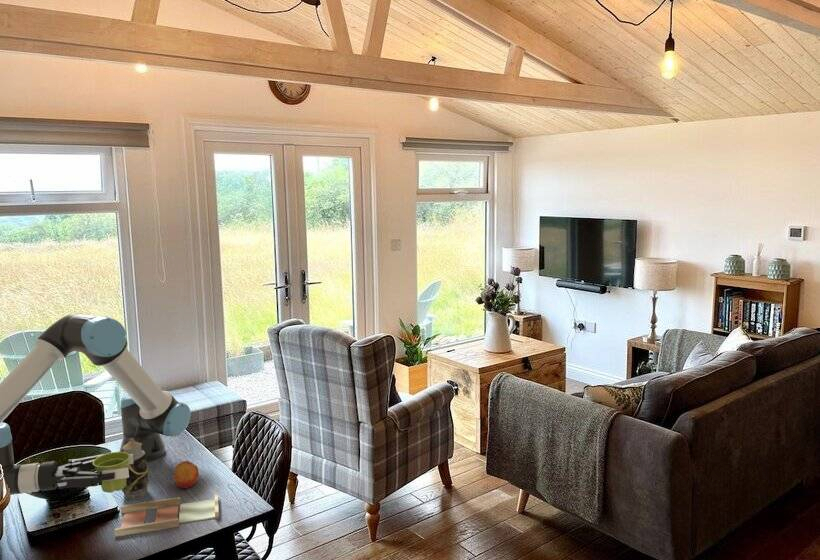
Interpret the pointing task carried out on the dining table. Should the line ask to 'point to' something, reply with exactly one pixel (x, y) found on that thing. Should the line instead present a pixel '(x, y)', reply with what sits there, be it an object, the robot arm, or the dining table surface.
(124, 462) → the plant pot
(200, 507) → the trap box
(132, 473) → the lantern
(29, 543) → the dining table surface
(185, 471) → the fruit
